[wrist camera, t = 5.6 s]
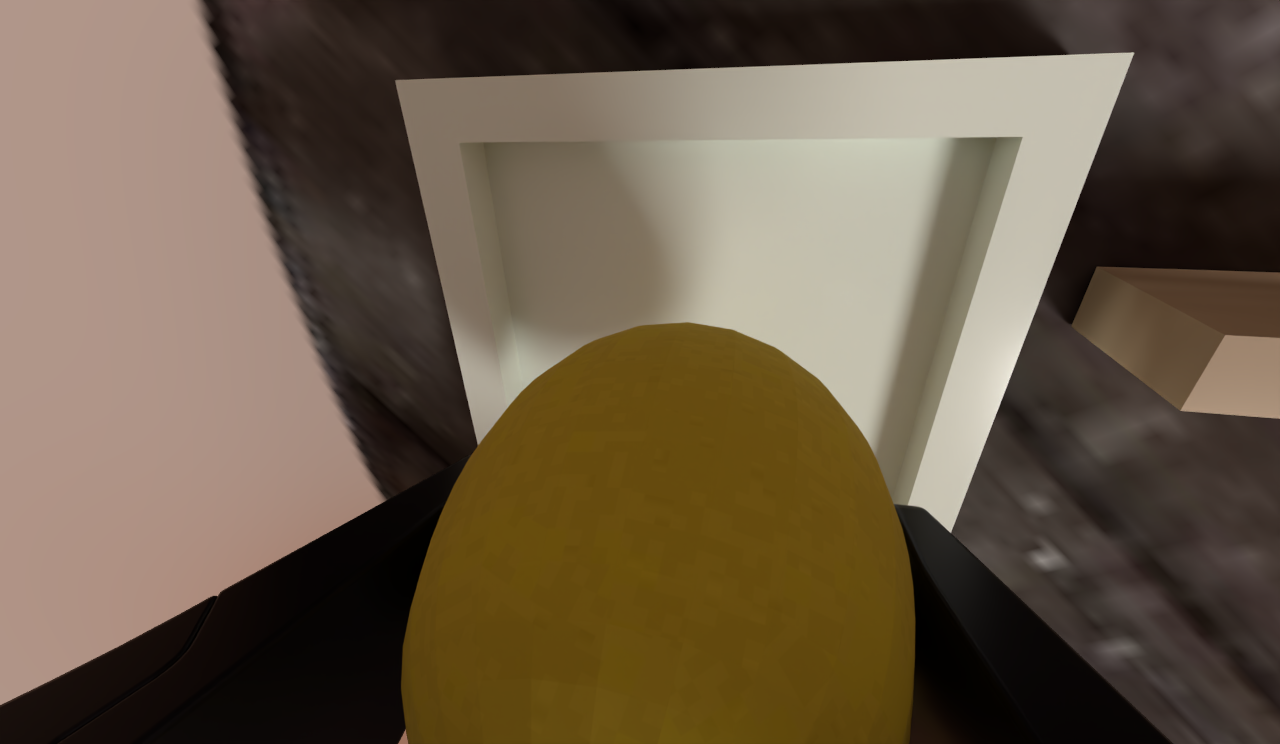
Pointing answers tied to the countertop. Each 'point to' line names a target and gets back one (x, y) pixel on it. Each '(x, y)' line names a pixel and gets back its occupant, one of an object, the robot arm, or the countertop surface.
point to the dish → (769, 226)
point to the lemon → (666, 561)
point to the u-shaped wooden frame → (1191, 334)
